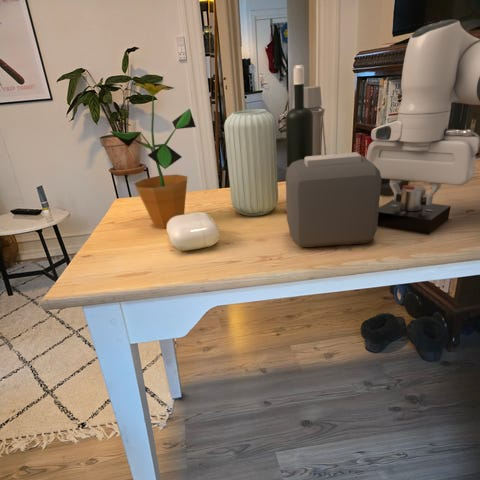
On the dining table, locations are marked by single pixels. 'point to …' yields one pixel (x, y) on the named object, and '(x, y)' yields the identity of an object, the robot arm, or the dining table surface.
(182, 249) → the earbud case
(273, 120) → the vase
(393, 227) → the dial panel
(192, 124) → the potted plant
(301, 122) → the wine bottle
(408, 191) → the dial
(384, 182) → the switch block
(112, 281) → the dining table surface
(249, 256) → the dining table surface
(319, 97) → the water bottle
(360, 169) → the alarm clock
